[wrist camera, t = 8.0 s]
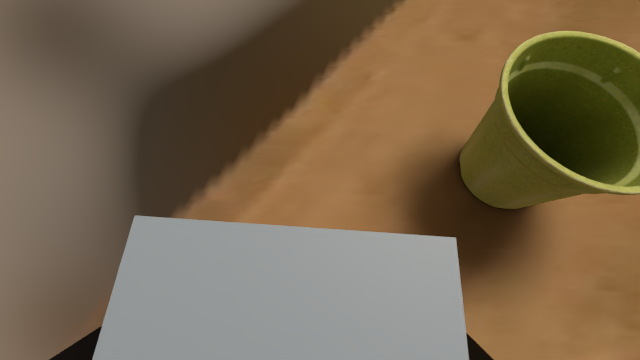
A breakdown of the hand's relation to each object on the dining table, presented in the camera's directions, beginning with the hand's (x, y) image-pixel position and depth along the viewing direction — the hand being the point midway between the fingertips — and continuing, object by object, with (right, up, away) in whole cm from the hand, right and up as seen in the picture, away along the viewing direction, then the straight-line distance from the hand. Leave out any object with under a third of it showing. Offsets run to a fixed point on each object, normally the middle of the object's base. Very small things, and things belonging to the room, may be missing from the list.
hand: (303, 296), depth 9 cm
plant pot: (+14, +4, +15) cm, 21 cm away
